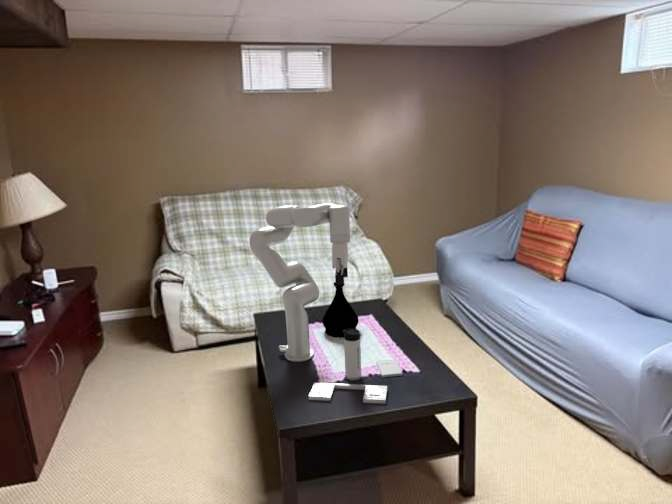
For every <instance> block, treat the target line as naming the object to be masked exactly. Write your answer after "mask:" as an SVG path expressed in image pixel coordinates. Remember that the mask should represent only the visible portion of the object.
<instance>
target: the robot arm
mask: <svg viewBox="0 0 672 504" xmlns="http://www.w3.org/2000/svg"><path fill="white" fill-rule="evenodd" d="M265 220H266V223H267V226H264V227H260V228H258V229H256V230H254V231H253V232H252V233H250V235H249V236H250V237H249V247H250V250H251V253H252V254H253V255H254V257H255V258H256V259H257V260H258V262H260V264H261V265H262V266H263V268H264V269H265V271H266V273H267V274H268V275H269V277H270V279H271V280H272V282H273V283H274V285H275V286H277V287H278V288H280V289H282V288H285V287H286V288H287V287H288V288H287V289H286V290H284V291H283V293H282V297H281V301H282V304H283V309H284V313H285V324H286V336H287V337H286V338H287V339H286V340H287V344H286V345H281V344H280V345H279V346H278V350H279V352H281V353H282V352H283V353H284V358H285V359H286V360H288V361H290V362H297V363H298V362H300V363H301V362H305V361H309V360H310V359H312V358H313V357H314V355H315V354H314V353H315V352H314V350H313V349H312V348H311V342H310V326H309V325H310V324H309V315H308V313H307V311H306V310H305V306H307V305H309V304H312V303H314V302H315V301H317V300H318V299H319V297H320V289H319V286H318V285H317V283H316V282H315V280H314V279H313V277H312V275H311V274H310V272H309V271H308V269H307V268H306V266H305V265H303V263H301V262H299V261H297V260H295V261H289V262H286V261H284V259H283V257H282V256H281V255H280V254H279V252H277V250H276V251H275V250H274V249H272V248H270V247H272V246H275V245H279V244H283V243H284V242H285V241H287V239H288V238H289V237H290V235H291V233H292V231H293V230H294V228H309V227H316V226H321V225H323V224H327V223H329V236H330V243H331V244H332V246H331V247H332V248H331V249H332V250H331V251H332V252H331V254H332V255H331V259H332V260H331V267H332V269H333V270H334V269H335V273H334V278H335V279H334V280H335V281H334V282H335V283H336V285H344V286H345V278H348V273H349V272H348V263H349V252H348V251H349V250H348V247H349V246H348V245H349V244H348V243H350V242H351V226H350V225H351V224H350V209H349V206H347V205H345V204H335V203H332V202H324V203H320V204H316V205H312V206H305V207H301V206H299V205H290V204H289V205H288V204H287V205H283V206H277V207H274V208H271V209H269V211H267V213H266V215H265ZM291 285H293V286H291ZM289 286H290V287H289Z"/></svg>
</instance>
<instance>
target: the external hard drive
mask: <svg viewBox="0 0 672 504" xmlns="http://www.w3.org/2000/svg"><path fill="white" fill-rule="evenodd" d="M375 363H376V366H377V368H378V371H379V370H380V371H379V373H380V376H381V377H382V378H390V377H399V376H403V375H404V374H403V371H402V370H401V368H400V366H399V363H398V362H397V360H396V359H393V358H392V359H384V360H375Z"/></svg>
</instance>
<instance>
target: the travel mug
mask: <svg viewBox="0 0 672 504" xmlns="http://www.w3.org/2000/svg"><path fill="white" fill-rule="evenodd" d="M356 329H357V328H356ZM356 329H351V328H349V329H345V330H343V333H344V337H343V340H344V341H343V342H344V343H343V344H344V345H343V346H344V370H345V372H344V373H345V375H344V376H345V379H347V380H348V381H358V380H360V379H361V378H362V356H361V355H362V354H361V353H362V352H361V332H360V331H359V329H357V330H356Z"/></svg>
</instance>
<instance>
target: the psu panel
mask: <svg viewBox="0 0 672 504" xmlns="http://www.w3.org/2000/svg"><path fill="white" fill-rule="evenodd" d="M335 389H339V390H340V389H343V390H344V389H345V390H361V391H362V390H363V391H364V393H363V398H362V402H363V403H365V404H366V403H367V404H385V405H386V403H387V396H388V395H387V394H388V385H379V384H378V385H376V384H375V385H374V384H372V385H371V384H355V383H354V384H353V383H335V382H333V383H332V382H331V383H330V382H313V385H312V387H311V390H310V392H309V394H308V400H310V401H324V402H325V401H329V402H330V401H331V400H332V397H333V395H334V391H335Z"/></svg>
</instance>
